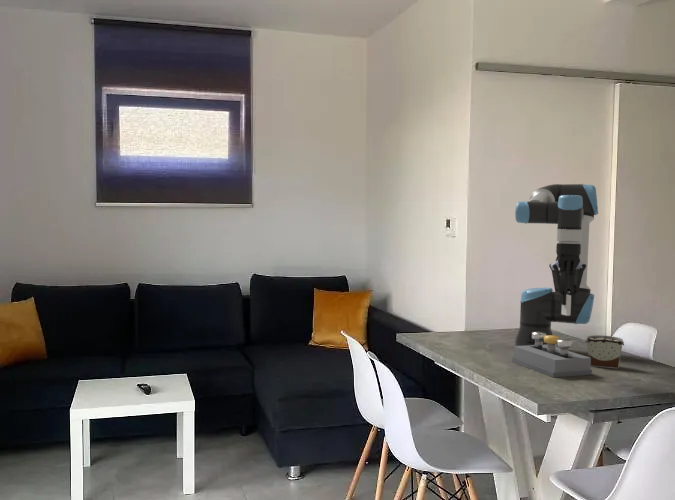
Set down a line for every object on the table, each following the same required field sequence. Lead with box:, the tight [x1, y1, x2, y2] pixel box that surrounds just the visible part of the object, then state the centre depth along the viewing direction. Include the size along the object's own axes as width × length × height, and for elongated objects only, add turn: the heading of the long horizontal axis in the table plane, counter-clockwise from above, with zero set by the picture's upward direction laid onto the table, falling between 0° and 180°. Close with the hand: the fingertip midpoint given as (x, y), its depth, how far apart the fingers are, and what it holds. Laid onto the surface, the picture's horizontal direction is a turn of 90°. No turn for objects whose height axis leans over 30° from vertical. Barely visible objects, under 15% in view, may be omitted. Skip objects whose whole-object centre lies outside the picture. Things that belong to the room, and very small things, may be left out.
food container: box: [585, 334, 625, 369], centre depth 237 cm, size 12×6×10 cm, turn 71°
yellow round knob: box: [544, 334, 560, 355], centre depth 231 cm, size 5×5×6 cm
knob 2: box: [556, 338, 574, 358], centre depth 224 cm, size 5×5×6 cm
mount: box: [511, 345, 593, 378], centre depth 231 cm, size 15×23×6 cm, turn 19°
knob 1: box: [532, 332, 546, 350], centre depth 237 cm, size 5×5×6 cm
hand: (565, 314), depth 223 cm, fingers closed
